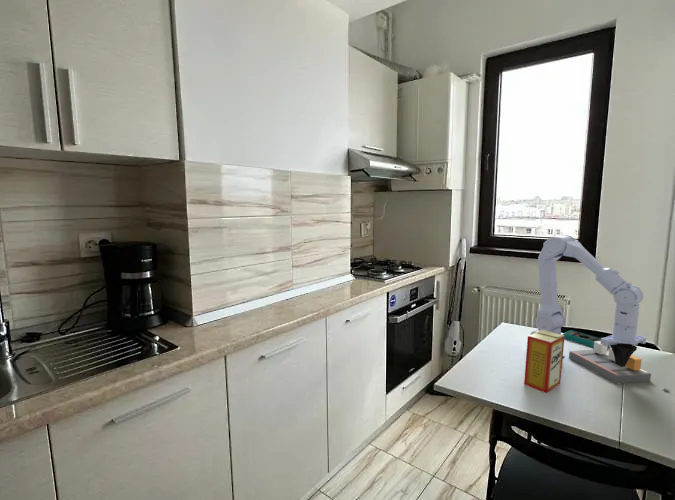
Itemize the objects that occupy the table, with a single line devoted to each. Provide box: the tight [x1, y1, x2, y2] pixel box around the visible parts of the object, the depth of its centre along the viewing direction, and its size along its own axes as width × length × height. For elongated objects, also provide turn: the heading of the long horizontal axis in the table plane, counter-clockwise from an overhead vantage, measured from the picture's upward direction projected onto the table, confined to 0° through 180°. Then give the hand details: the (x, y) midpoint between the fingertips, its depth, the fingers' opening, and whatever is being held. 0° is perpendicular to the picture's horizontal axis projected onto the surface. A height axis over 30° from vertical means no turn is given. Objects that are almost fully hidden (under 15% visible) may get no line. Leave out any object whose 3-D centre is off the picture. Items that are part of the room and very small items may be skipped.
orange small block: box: [625, 354, 643, 370], centre depth 115 cm, size 2×3×4 cm
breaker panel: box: [568, 341, 652, 385], centre depth 121 cm, size 12×19×6 cm, turn 9°
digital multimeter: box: [562, 329, 610, 349], centre depth 144 cm, size 7×15×3 cm, turn 31°
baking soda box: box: [523, 329, 565, 394], centre depth 110 cm, size 10×6×16 cm
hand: (620, 365), depth 114 cm, fingers closed
